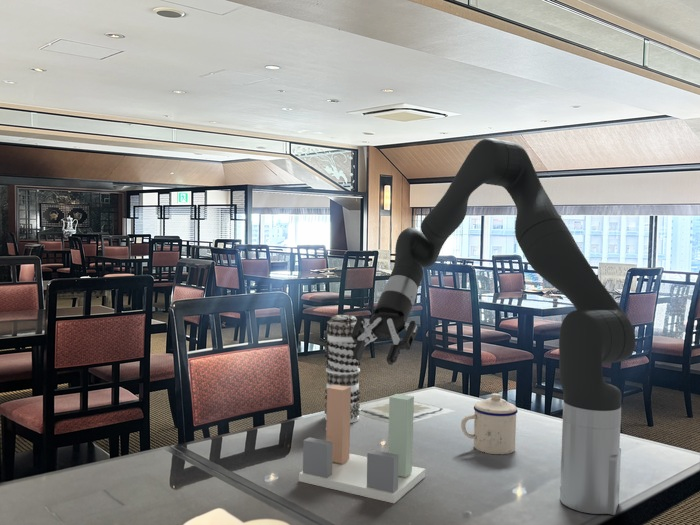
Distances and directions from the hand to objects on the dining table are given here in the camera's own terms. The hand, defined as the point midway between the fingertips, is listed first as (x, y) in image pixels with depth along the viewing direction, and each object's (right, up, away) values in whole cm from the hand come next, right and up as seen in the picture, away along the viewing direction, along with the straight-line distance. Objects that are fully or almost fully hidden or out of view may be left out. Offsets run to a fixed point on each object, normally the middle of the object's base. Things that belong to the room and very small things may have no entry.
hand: (372, 360), depth 138 cm
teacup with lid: (+24, -19, +2) cm, 31 cm away
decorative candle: (-7, -18, +22) cm, 29 cm away
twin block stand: (-2, -19, -17) cm, 26 cm away
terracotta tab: (-7, -17, -12) cm, 22 cm away
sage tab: (+4, -18, -18) cm, 26 cm away
